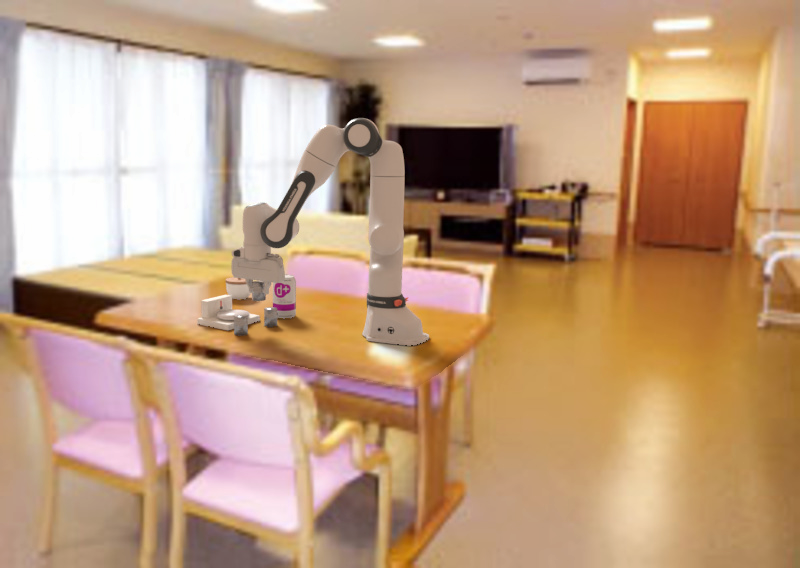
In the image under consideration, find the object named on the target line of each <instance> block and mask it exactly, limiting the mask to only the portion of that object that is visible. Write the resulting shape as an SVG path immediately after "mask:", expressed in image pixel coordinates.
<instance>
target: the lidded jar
mask: <svg viewBox="0 0 800 568" xmlns="http://www.w3.org/2000/svg"><path fill="white" fill-rule="evenodd" d="M253 281H254V280H253ZM253 281H252V282H253ZM225 288H226V292H227V295H231V296H232V300H234V299H237V301H238V300H239V301H241V300H240V299H244V300H247V299H248V297H250V295H252V293H251V292H249V287H248V286H247V284H246V281H245V279H242V278H235V277H228V278H225ZM246 298H247V299H246Z"/></svg>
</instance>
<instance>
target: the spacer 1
mask: <svg viewBox="0 0 800 568" xmlns="http://www.w3.org/2000/svg"><path fill="white" fill-rule="evenodd" d="M248 325H249V324H248V316H247V315H235V316H234V329H233V335H234V336H239V337H241V336H242V337H243V336H247V335H248V334H249V331H248V329H249V327H248Z"/></svg>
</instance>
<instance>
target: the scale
mask: <svg viewBox="0 0 800 568" xmlns="http://www.w3.org/2000/svg"><path fill="white" fill-rule="evenodd" d="M200 303H201V306H200V307H201V310H200V312H201V315H200V316H201V317H198V318H196V319H197V320H196V323H197V325H199V324H200V325H199V326H204V327H208V326H210V328H213V327H214V329H219V330H224V331H231V330H234V316H235V315H247V316H248V325H251V324H255V323H258V322H260V321H261V319H260V317H261V316H260V315H259V314H254V313H250V312H249V311H248V310H244V309H233V299H232V296H231V295H229V294H223V295H218V296H214V297H210V298H205V299H202V300H200ZM257 321H258V322H257ZM254 322H255V323H254Z"/></svg>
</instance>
